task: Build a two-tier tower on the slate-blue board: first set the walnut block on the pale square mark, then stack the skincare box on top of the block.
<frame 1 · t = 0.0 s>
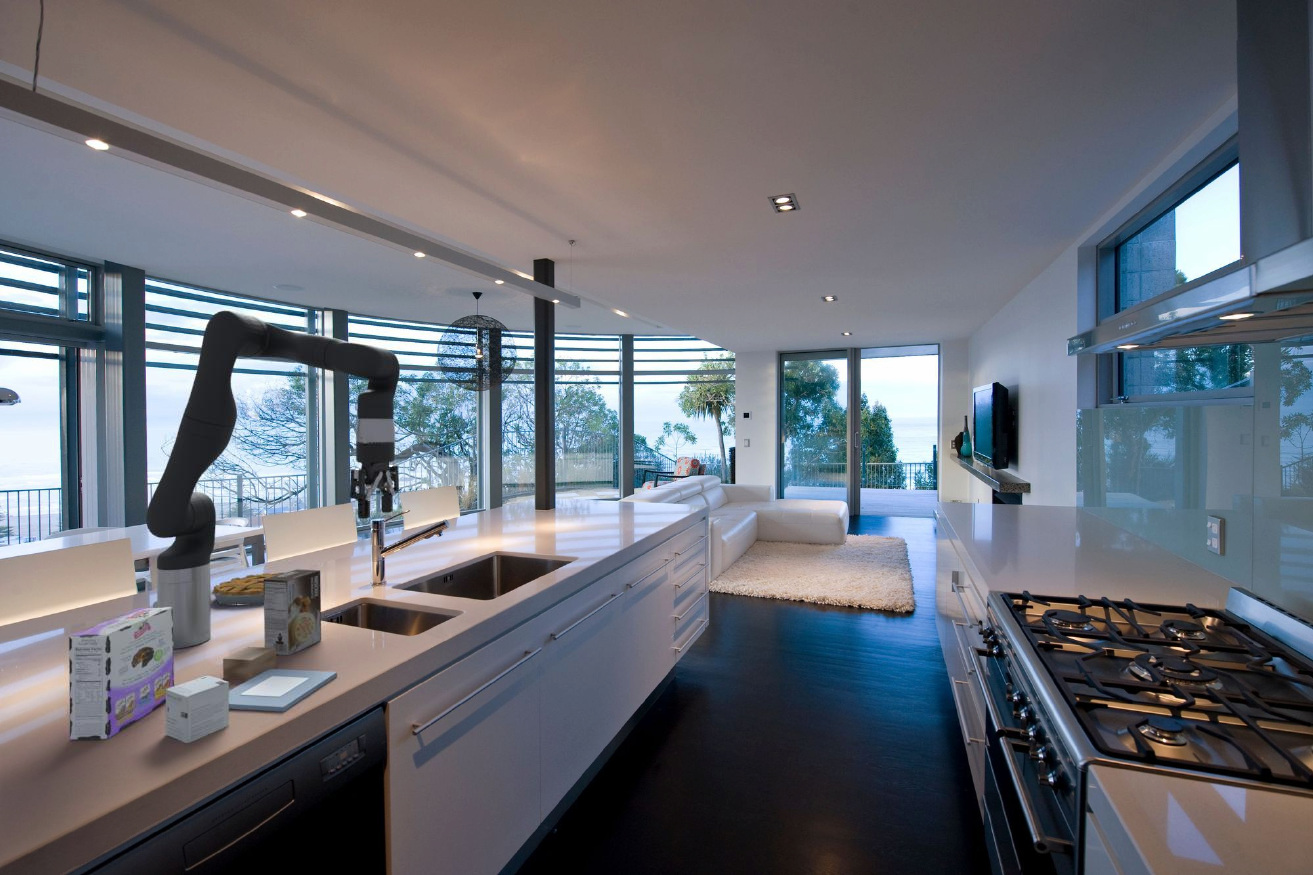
hand: (375, 515, 124), 29 cm above the counter, tool pointing down, fingers open, 8 cm apart
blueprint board: (276, 690, 105), on the counter
pie: (260, 596, 164), on the counter
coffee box: (293, 647, 126), on the counter
walnut block: (250, 673, 113), on the counter
skincare box: (198, 731, 91), on the counter
candy box: (125, 719, 95), on the counter
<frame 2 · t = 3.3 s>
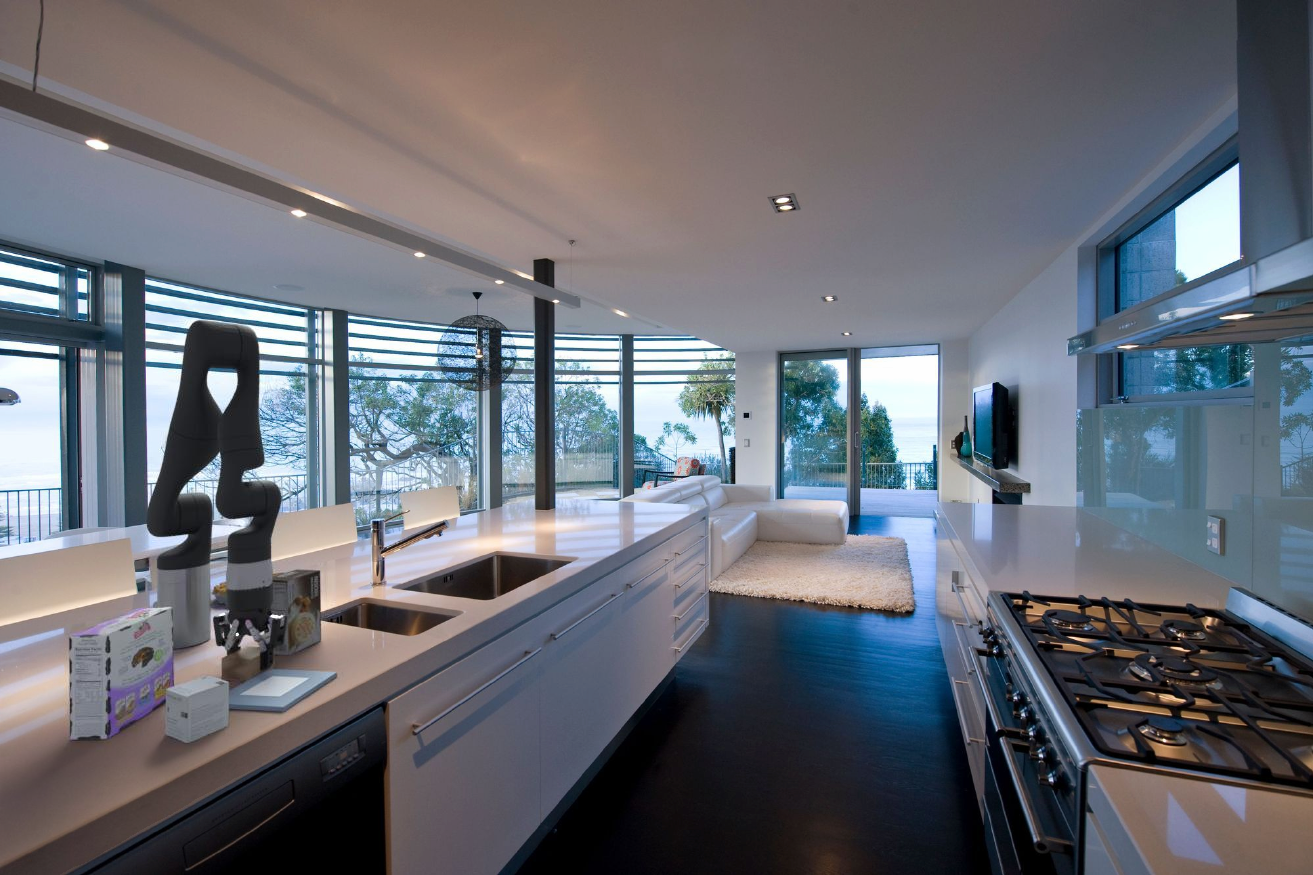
hand: (250, 667, 113), 1 cm above the counter, tool pointing down, fingers closed on walnut block, 6 cm apart
walnut block: (248, 673, 113), on the counter, touching gripper
everything else where it was.
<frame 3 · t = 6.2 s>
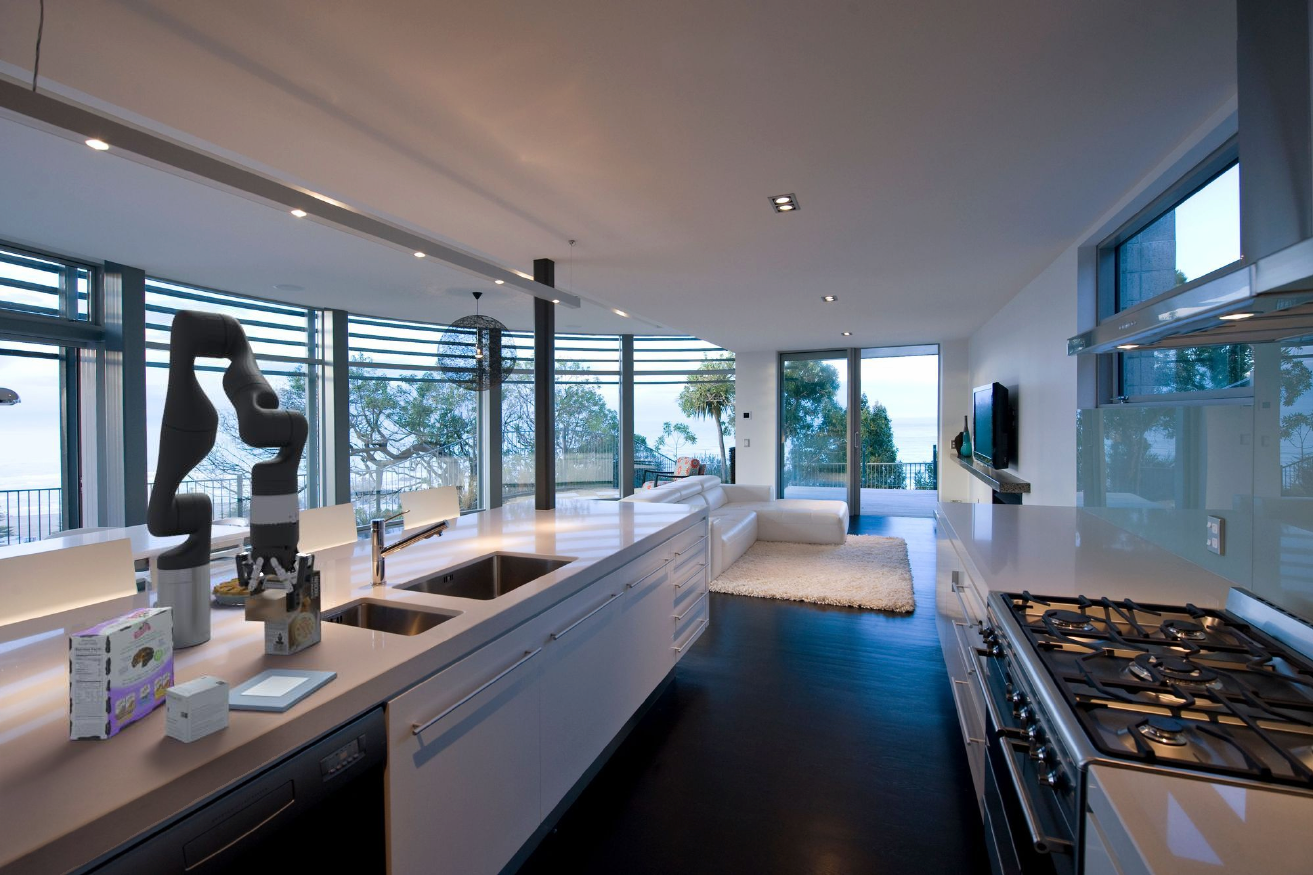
hand: (275, 610, 105), 15 cm above the counter, tool pointing down, fingers closed on walnut block, 6 cm apart
walnut block: (273, 616, 105), point 14 cm above the counter, touching gripper
everything else where it was.
when the fingers open (3 cm above the counter, at t = 8.8 s): walnut block stays where it is, resting on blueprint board.
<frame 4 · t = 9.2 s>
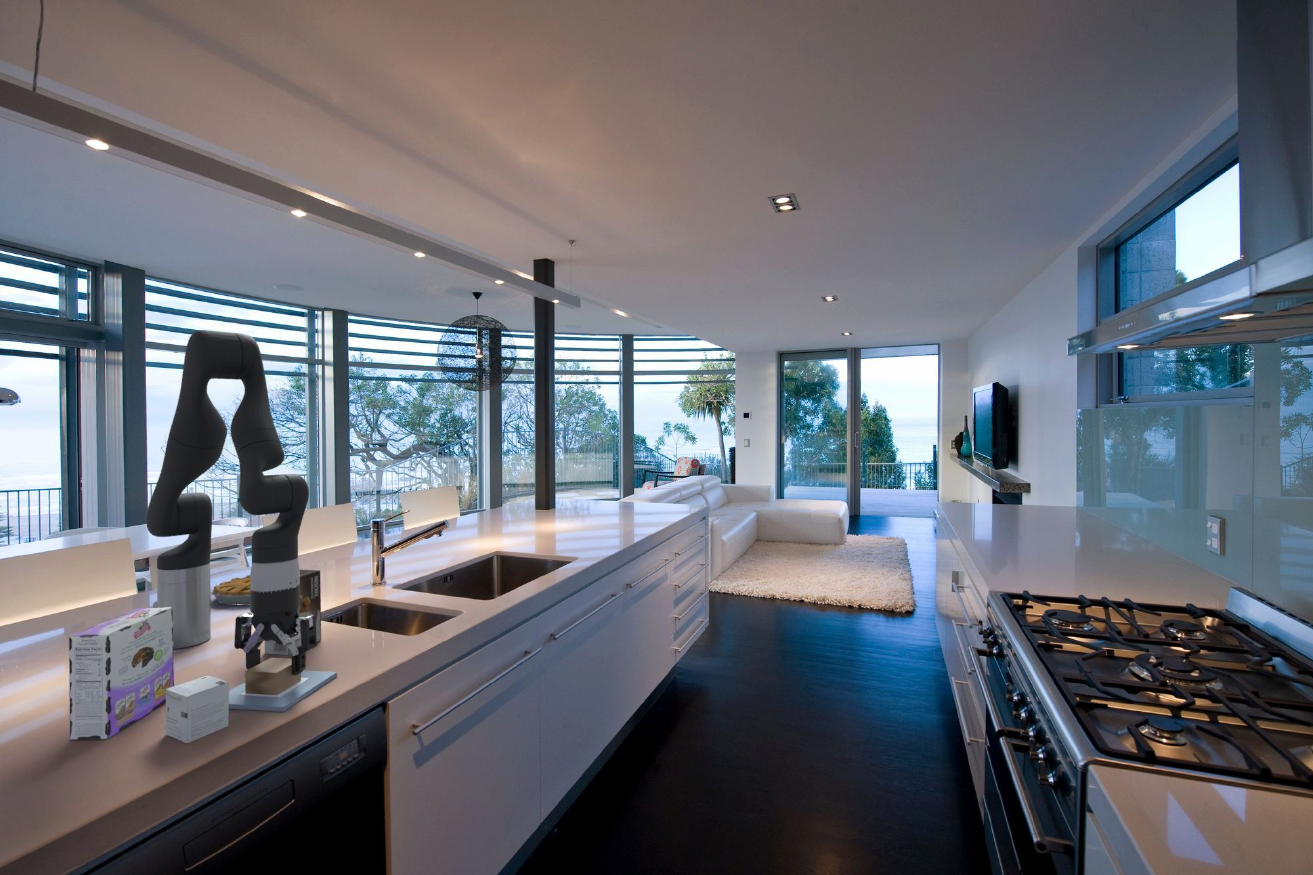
hand: (275, 672, 105), 3 cm above the counter, tool pointing down, fingers open, 8 cm apart
walnut block: (273, 686, 105), point 1 cm above the counter, touching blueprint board
everything else where it was.
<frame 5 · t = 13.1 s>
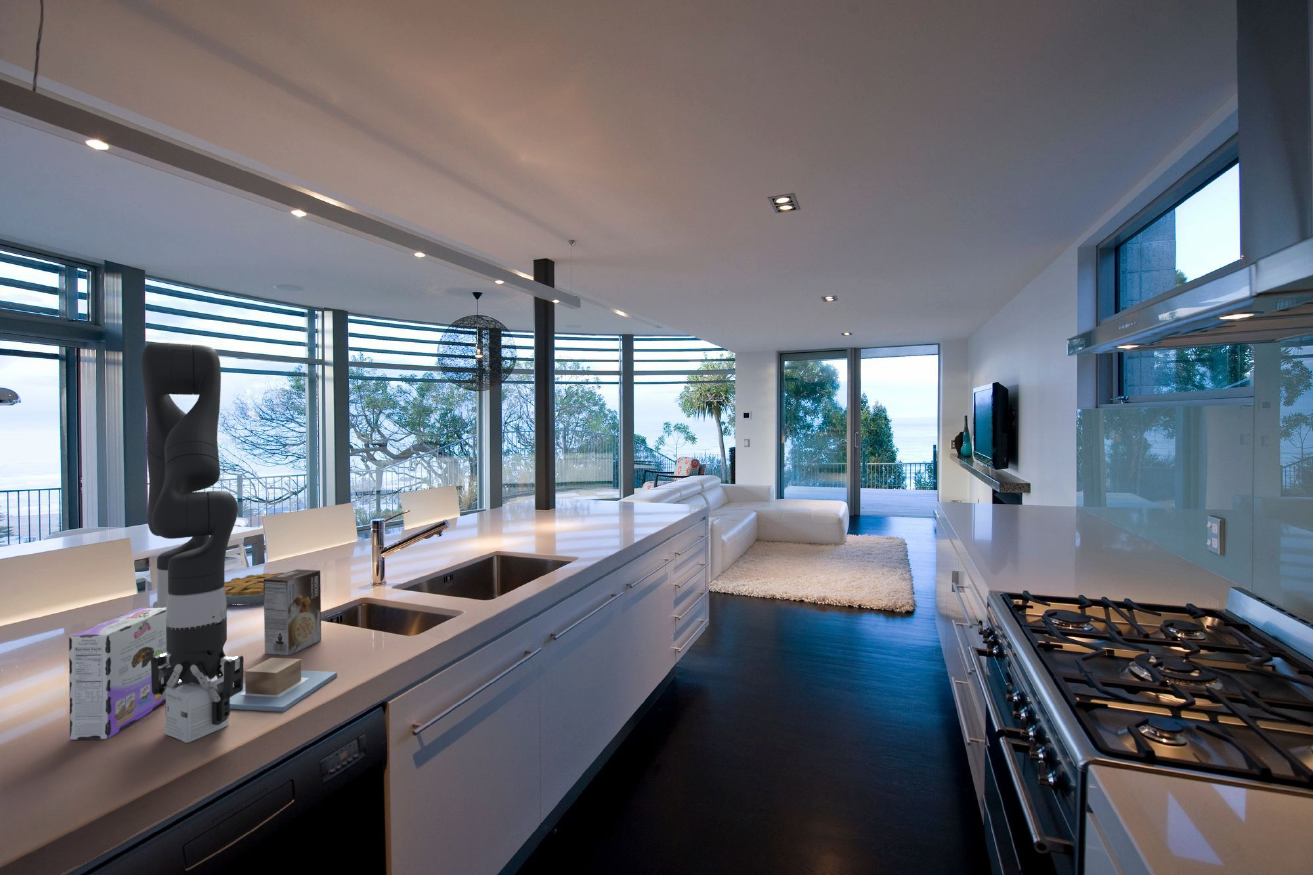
hand: (197, 720, 91), 2 cm above the counter, tool pointing down, fingers closed on skincare box, 7 cm apart
skincare box: (198, 731, 91), on the counter, touching gripper
everything else where it was.
when the fingers open (7 cm above the counter, at t = 18.9 s): skincare box stays where it is, resting on walnut block.
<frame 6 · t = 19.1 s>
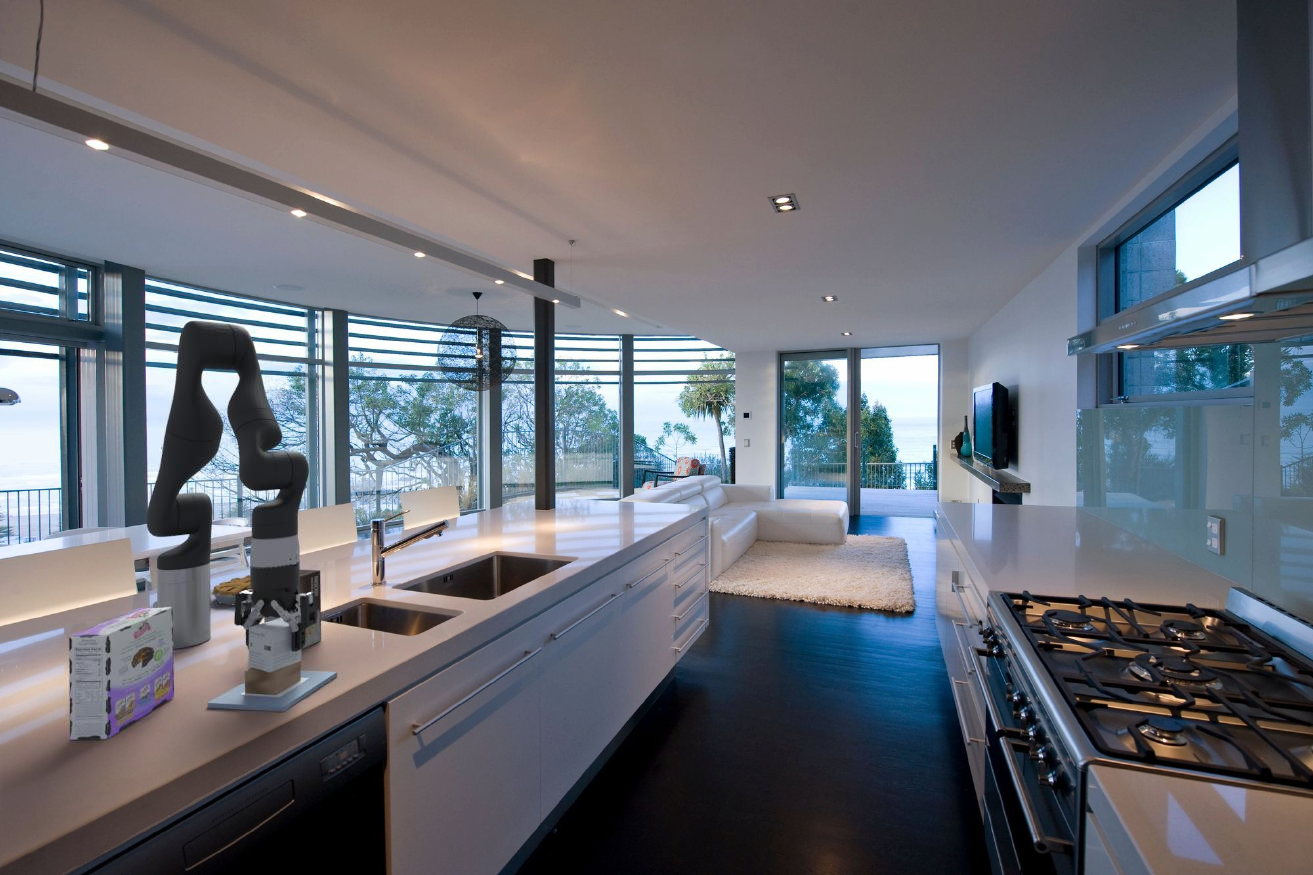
hand: (275, 649, 105), 8 cm above the counter, tool pointing down, fingers open, 8 cm apart
walnut block: (273, 686, 105), point 1 cm above the counter, touching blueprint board, skincare box
skincare box: (275, 665, 105), point 5 cm above the counter, touching walnut block
everything else where it was.
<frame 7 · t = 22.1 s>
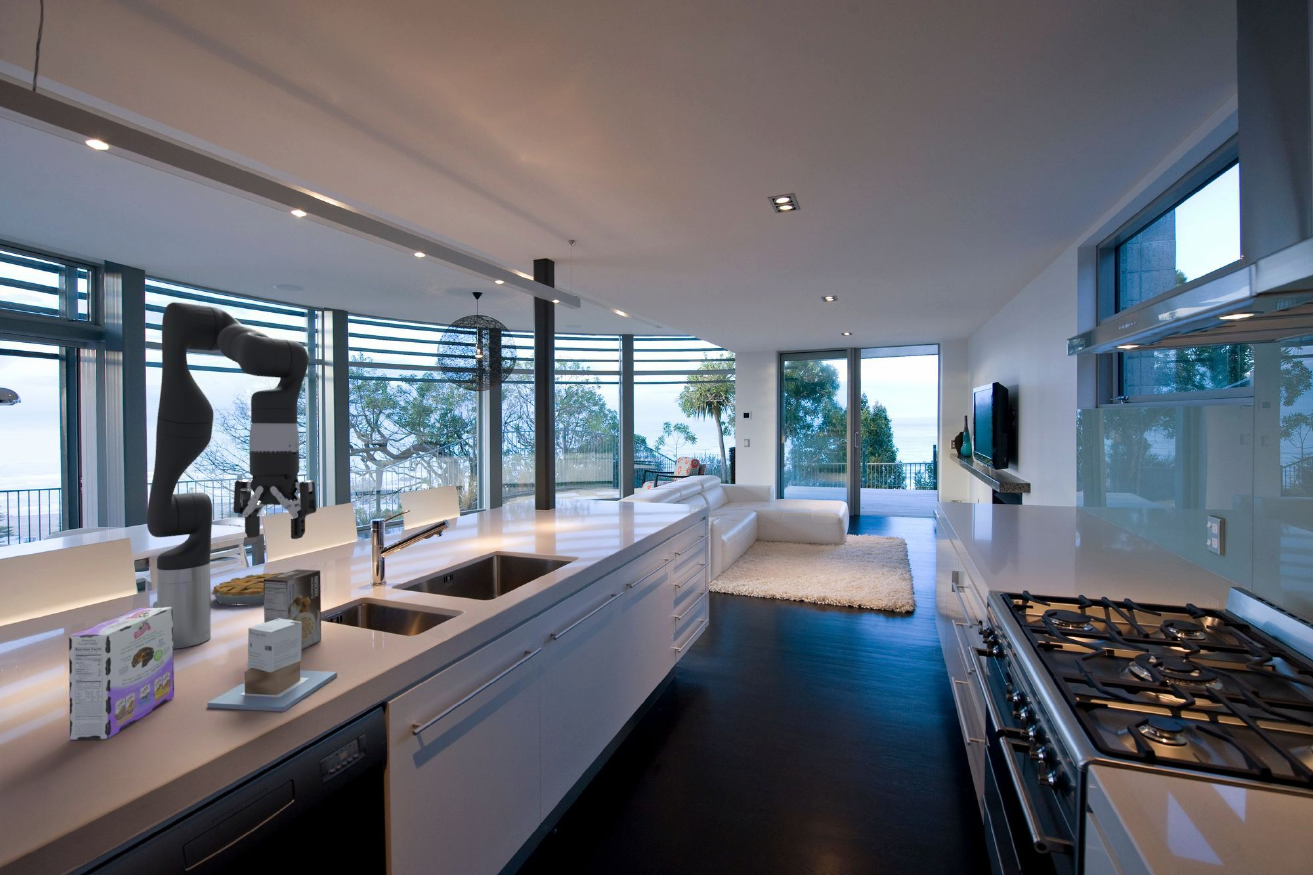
hand: (275, 537, 105), 28 cm above the counter, tool pointing down, fingers open, 8 cm apart
nothing on the counter moved.
at the end: walnut block 0.4 cm off-centre on the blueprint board, point 0.9 cm above the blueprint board's base; skincare box 0.4 cm off-centre on the walnut block, point 3.8 cm above the walnut block's base; skincare box tilted 0° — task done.
